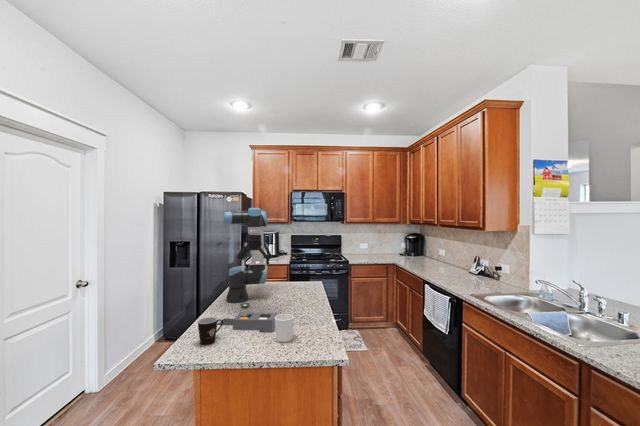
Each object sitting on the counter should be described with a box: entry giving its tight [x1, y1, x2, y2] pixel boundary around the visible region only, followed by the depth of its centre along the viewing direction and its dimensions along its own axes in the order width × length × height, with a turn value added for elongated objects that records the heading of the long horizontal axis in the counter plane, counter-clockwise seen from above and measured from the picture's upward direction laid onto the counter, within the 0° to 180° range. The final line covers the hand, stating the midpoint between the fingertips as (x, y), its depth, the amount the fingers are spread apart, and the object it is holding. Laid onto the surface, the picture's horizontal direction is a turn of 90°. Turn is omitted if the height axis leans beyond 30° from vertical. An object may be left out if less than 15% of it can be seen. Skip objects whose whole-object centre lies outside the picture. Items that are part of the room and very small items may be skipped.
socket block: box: [232, 311, 278, 333], centre depth 151 cm, size 12×20×6 cm, turn 87°
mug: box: [274, 313, 295, 344], centre depth 137 cm, size 11×9×10 cm
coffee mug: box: [197, 316, 224, 346], centre depth 134 cm, size 12×9×10 cm
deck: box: [217, 318, 234, 326], centre depth 157 cm, size 10×10×1 cm
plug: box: [240, 302, 250, 318], centre depth 151 cm, size 5×5×10 cm
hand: (254, 270), depth 168 cm, fingers open, 13 cm apart
